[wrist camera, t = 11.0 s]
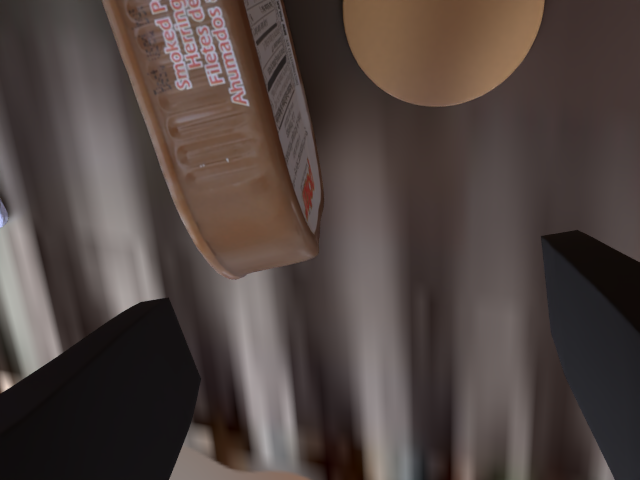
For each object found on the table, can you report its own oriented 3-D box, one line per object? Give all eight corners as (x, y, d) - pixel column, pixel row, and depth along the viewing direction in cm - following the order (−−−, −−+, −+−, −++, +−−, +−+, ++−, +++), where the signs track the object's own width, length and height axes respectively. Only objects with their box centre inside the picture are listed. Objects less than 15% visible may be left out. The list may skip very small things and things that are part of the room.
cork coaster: (365, 121, 21) (364, 124, 20) (323, -74, 18) (322, -74, 18) (550, 82, 19) (553, 84, 19) (532, -132, 17) (535, -134, 17)
